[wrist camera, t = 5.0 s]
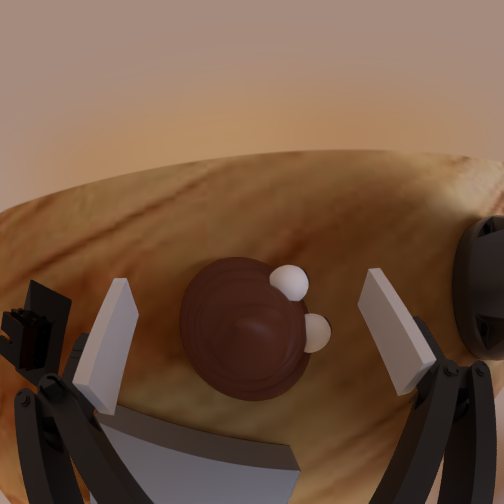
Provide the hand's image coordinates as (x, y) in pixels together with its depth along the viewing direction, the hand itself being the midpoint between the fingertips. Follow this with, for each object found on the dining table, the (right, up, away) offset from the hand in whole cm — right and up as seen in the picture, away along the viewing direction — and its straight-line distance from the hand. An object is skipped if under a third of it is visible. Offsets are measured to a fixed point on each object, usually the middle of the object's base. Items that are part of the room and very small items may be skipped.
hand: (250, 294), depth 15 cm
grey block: (-5, -18, +1) cm, 18 cm away
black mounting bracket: (-18, -5, +4) cm, 19 cm away
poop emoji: (0, -3, +5) cm, 6 cm away
